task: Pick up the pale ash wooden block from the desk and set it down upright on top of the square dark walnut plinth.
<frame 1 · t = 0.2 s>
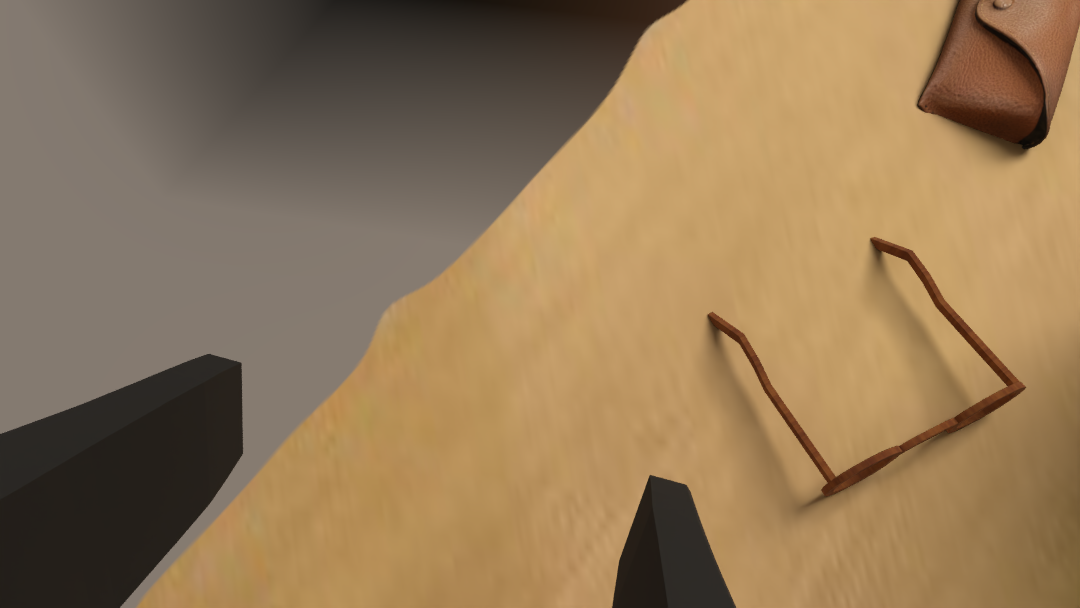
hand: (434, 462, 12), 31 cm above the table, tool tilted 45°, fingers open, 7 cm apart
sunglasses case: (995, 44, 52), on the table
glasses: (845, 362, 44), on the table
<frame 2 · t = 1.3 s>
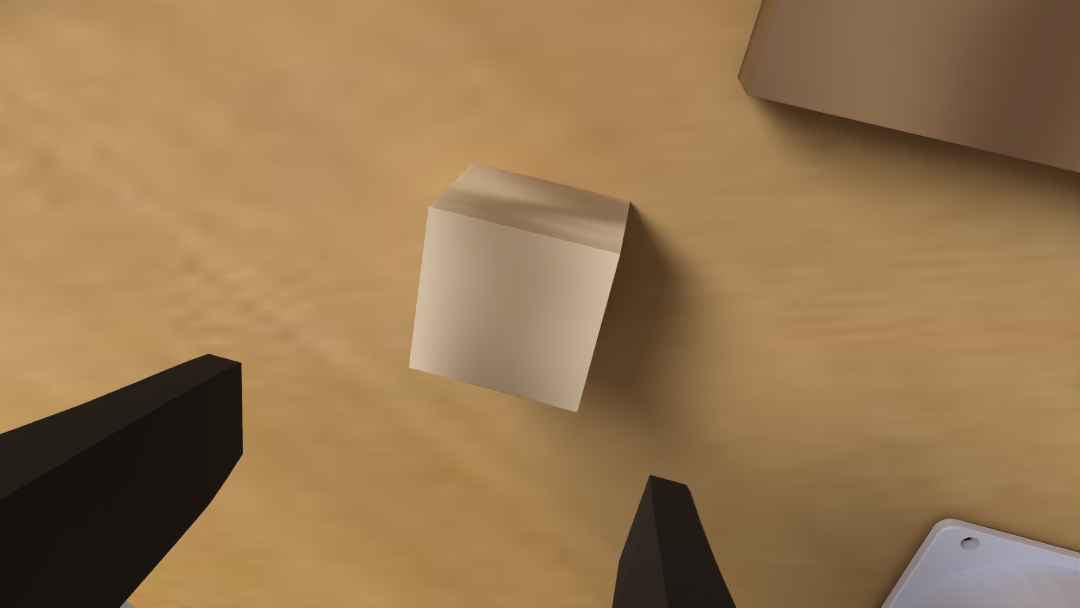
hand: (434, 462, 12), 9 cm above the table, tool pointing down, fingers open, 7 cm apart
block: (536, 253, 20), on the table
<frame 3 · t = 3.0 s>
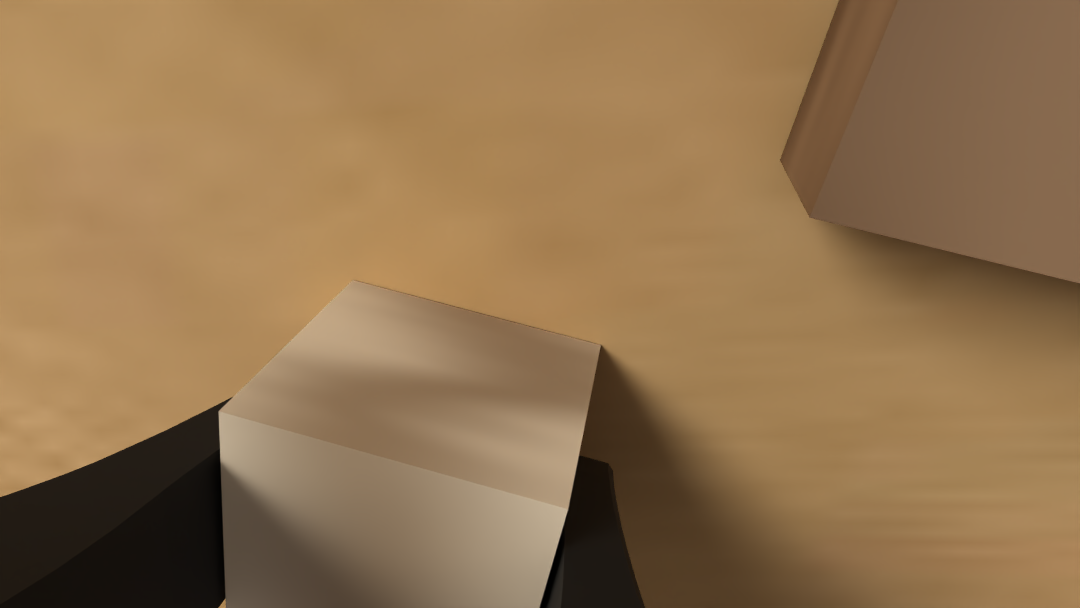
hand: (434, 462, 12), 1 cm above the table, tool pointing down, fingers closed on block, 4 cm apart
block: (457, 413, 13), on the table, touching gripper
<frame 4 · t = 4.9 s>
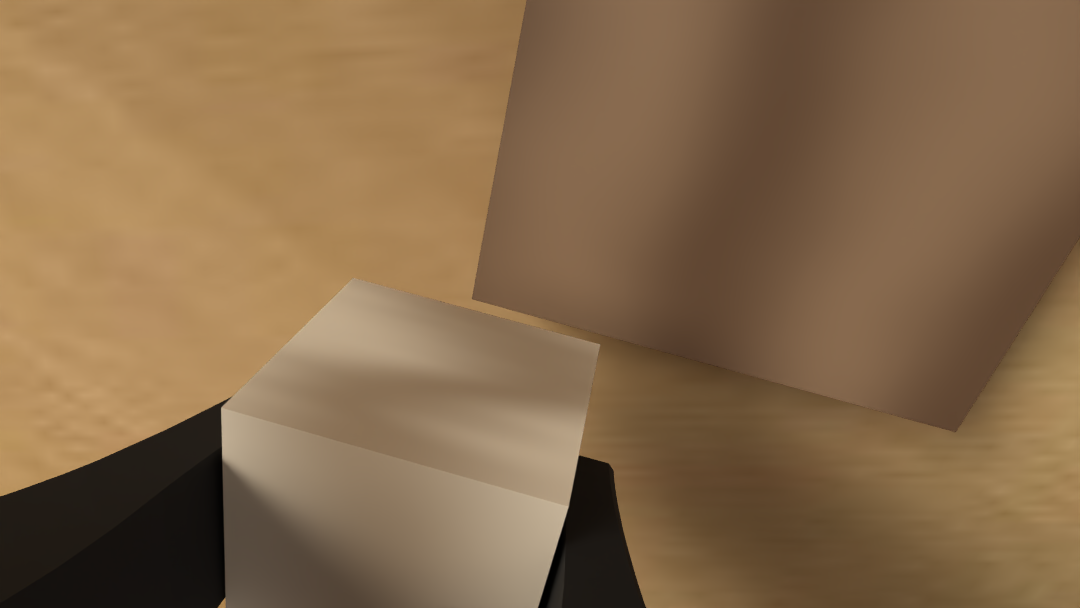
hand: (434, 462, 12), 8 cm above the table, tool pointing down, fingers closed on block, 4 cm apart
block: (456, 412, 13), point 7 cm above the table, touching gripper
plinth: (786, 98, 16), on the table
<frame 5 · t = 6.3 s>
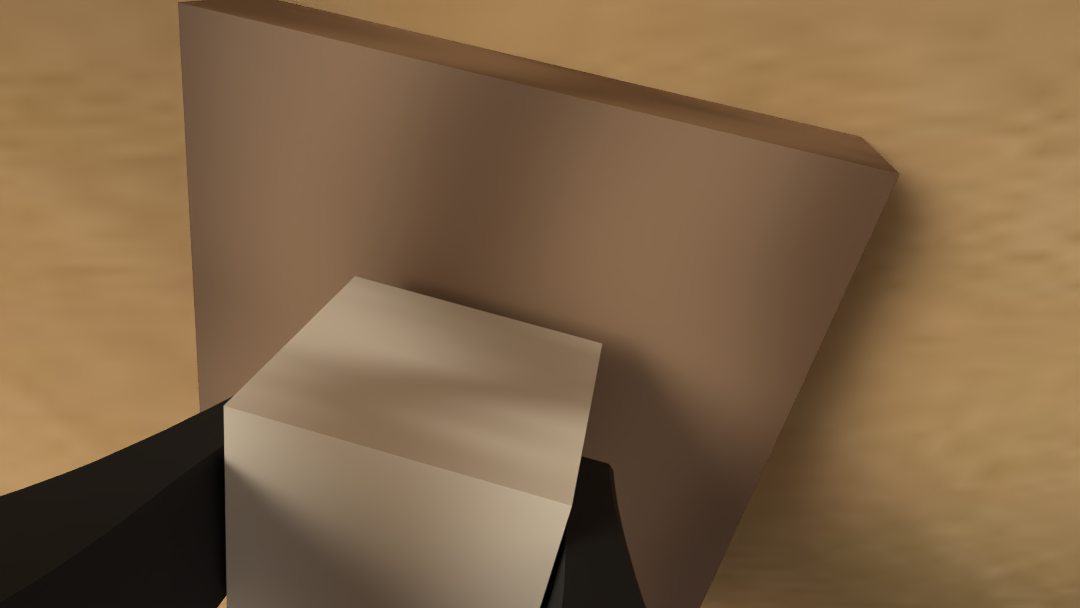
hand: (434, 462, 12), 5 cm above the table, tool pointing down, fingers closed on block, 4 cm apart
block: (458, 410, 13), point 3 cm above the table, touching gripper
plinth: (499, 327, 16), on the table
when the fingers open (5 cm above the table, at t = 7.1 s): block stays where it is, resting on plinth.
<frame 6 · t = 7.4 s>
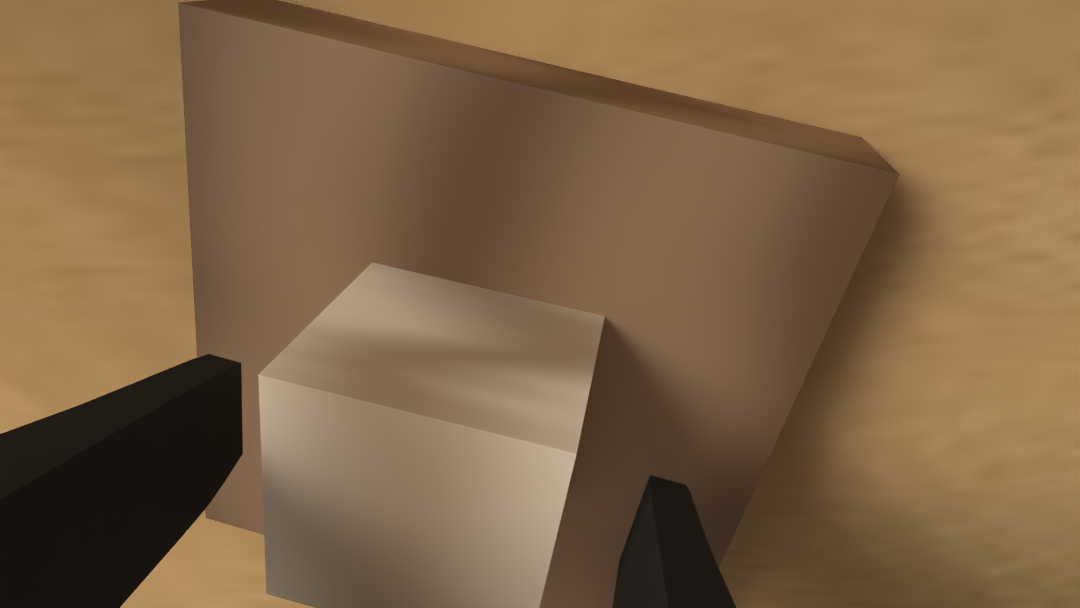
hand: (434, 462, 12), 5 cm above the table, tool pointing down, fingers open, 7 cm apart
block: (472, 386, 14), point 2 cm above the table, touching plinth
plinth: (499, 327, 16), on the table
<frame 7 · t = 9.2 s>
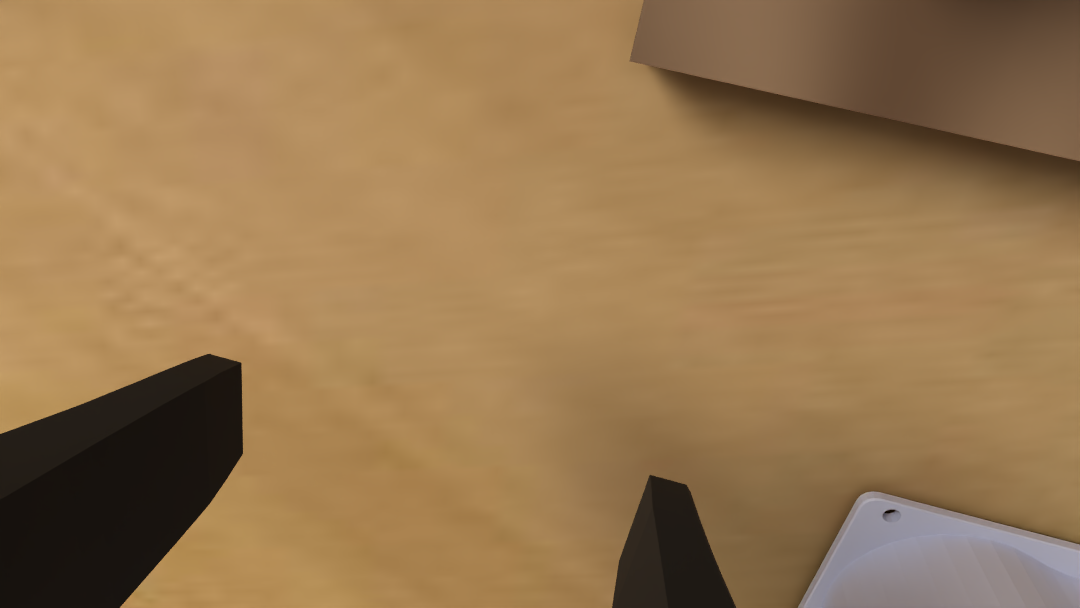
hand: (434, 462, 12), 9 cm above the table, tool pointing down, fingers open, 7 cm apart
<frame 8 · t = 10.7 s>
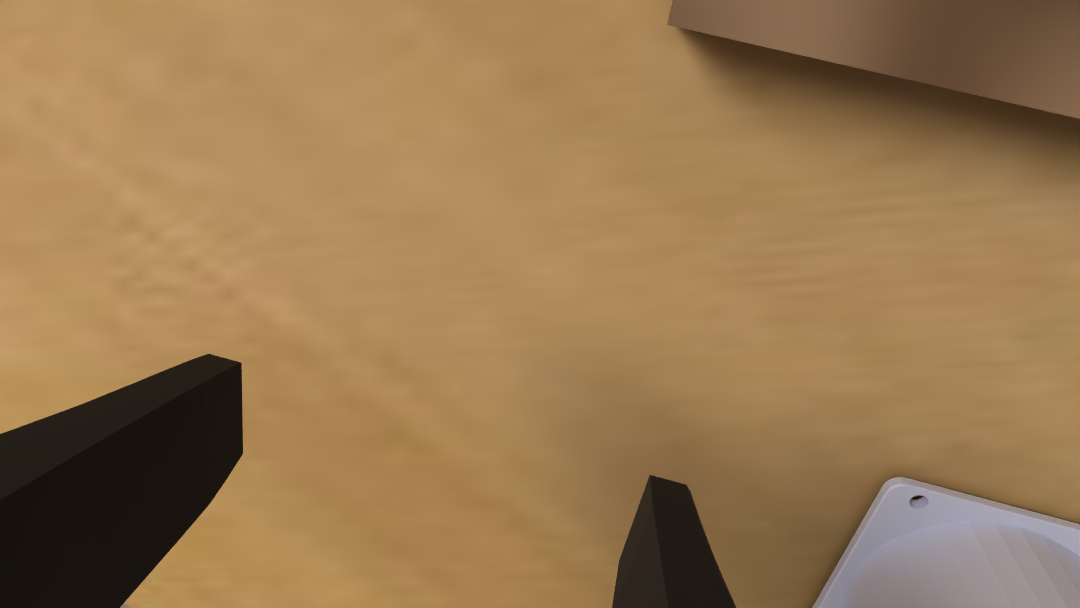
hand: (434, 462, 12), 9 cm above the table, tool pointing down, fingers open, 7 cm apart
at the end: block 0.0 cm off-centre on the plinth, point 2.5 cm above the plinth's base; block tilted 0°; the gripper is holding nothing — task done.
